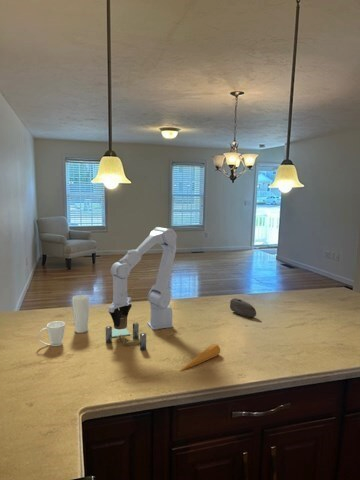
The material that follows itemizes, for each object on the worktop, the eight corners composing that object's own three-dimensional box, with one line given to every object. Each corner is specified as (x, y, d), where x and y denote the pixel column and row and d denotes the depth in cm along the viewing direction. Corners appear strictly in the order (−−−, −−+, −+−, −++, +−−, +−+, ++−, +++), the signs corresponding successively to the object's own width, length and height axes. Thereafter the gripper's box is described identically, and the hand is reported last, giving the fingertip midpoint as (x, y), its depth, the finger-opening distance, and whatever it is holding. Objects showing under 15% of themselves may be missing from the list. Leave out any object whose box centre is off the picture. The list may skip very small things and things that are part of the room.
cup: (67, 345, 139) (67, 325, 138) (40, 350, 134) (39, 330, 133) (63, 338, 145) (63, 319, 144) (37, 343, 140) (36, 323, 139)
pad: (125, 328, 157) (125, 327, 157) (130, 335, 150) (130, 333, 150) (107, 330, 154) (107, 329, 154) (110, 337, 147) (110, 336, 147)
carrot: (215, 354, 136) (211, 342, 136) (223, 353, 133) (219, 342, 133) (177, 377, 122) (173, 364, 123) (185, 378, 119) (181, 364, 119)
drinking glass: (85, 334, 149) (84, 300, 147) (70, 333, 150) (69, 298, 148) (92, 328, 156) (91, 295, 153) (77, 327, 157) (77, 294, 155)
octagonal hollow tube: (118, 323, 151) (118, 313, 150) (128, 325, 149) (128, 315, 149) (112, 328, 147) (111, 317, 146) (122, 330, 145) (122, 319, 144)
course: (137, 335, 150) (137, 321, 149) (147, 349, 136) (147, 335, 135) (104, 339, 145) (104, 325, 144) (111, 355, 131) (111, 340, 130)
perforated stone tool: (258, 318, 172) (259, 304, 171) (251, 320, 169) (252, 306, 168) (235, 309, 184) (236, 296, 183) (228, 311, 181) (229, 298, 180)
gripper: (119, 298, 138) (119, 331, 140) (137, 288, 151) (137, 319, 153) (103, 295, 140) (104, 328, 142) (122, 286, 154) (122, 316, 156)
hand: (120, 323), depth 148 cm, fingers closed on octagonal hollow tube, 5 cm apart
